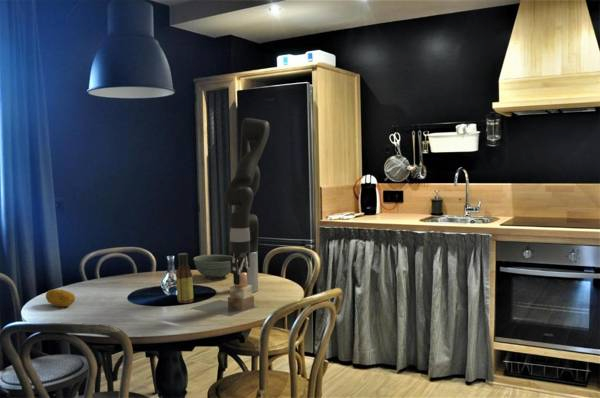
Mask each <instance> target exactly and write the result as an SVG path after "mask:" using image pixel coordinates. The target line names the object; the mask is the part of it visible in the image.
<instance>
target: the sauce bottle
mask: <svg viewBox="0 0 600 398" xmlns="http://www.w3.org/2000/svg"><path fill="white" fill-rule="evenodd" d="M177 258H178V259H177V260H178V261H177V262H178V265H177V269H176V271H175V276H176V277H175V279H176V296H177V303H180V304H189V303H190V304H191V303H192V302H194V287H193V286H194V285H193V284H194V282H193V274H192V271H191V267H190V265H189V254H188V253H187V252H181V253H178V254H177Z"/></svg>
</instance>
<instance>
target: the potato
mask: <svg viewBox="0 0 600 398" xmlns="http://www.w3.org/2000/svg"><path fill="white" fill-rule="evenodd" d="M45 298H46V301H47V302H48V303H49V304H51V305H53V306H55V307H57V308H58V307H59V308H66V307H69V306H71V305H72V304H73V303H74V302H75V300H76V296H75V294H74V293H73V292H71V291H68V290H63V289H49V290H48V291H47V292H46V293H45Z"/></svg>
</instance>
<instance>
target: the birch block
mask: <svg viewBox="0 0 600 398" xmlns="http://www.w3.org/2000/svg"><path fill="white" fill-rule="evenodd" d="M250 296H253V292H252V285H247V287H243V288H237V287H235V284H233V285H231V286H230V287H229V297H230V298H238V299H245V298H248V297H250Z"/></svg>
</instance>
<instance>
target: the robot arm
mask: <svg viewBox="0 0 600 398" xmlns="http://www.w3.org/2000/svg"><path fill="white" fill-rule="evenodd" d="M269 135H270V123H269V121H267V120H263V119H258V118H250V117H246V118H245V117H244V119H243V121H242V123H241V126H240V151H239V162H238V165H237V168H236V172H235V175H234V178H232V180H231V182H230V183H229V185H228V186H227V188H226V190H225V193H224V200H225V202H226V203H227V204H228V205H229V206H234V209H233V212H232V213H230V216H229V217H230V220H229V222H230V225H229V227H230V230H229V231H230V232H229V251H230V253H232V254H234V255H233V256H234V257H231V273H230V274H231V275H233V278H232V279H233V281H232V282H233V285H238V284H240V272H246V273H247V285H252V293H255V292H258V291H259V262H258V252H259V251H258V245H259V218H258V216H257V215H256V214H255V213H254V214H253V213H250V212H251V208H252V205H253V201H254V196H255V195H256V193H257V192H258V190H259V188H260V180H261V179H260V178H261V172H260V171H261V170H260V168H259V166H258V163H259V160H260V159H261V157H262V154H263V152H264V149H265V146H266V144H267V142H268V138H269V137H270V136H269ZM250 142H252V143H253V142H254V143H256V144H255V145H254V147H253V148H252V149H251V145H250Z"/></svg>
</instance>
